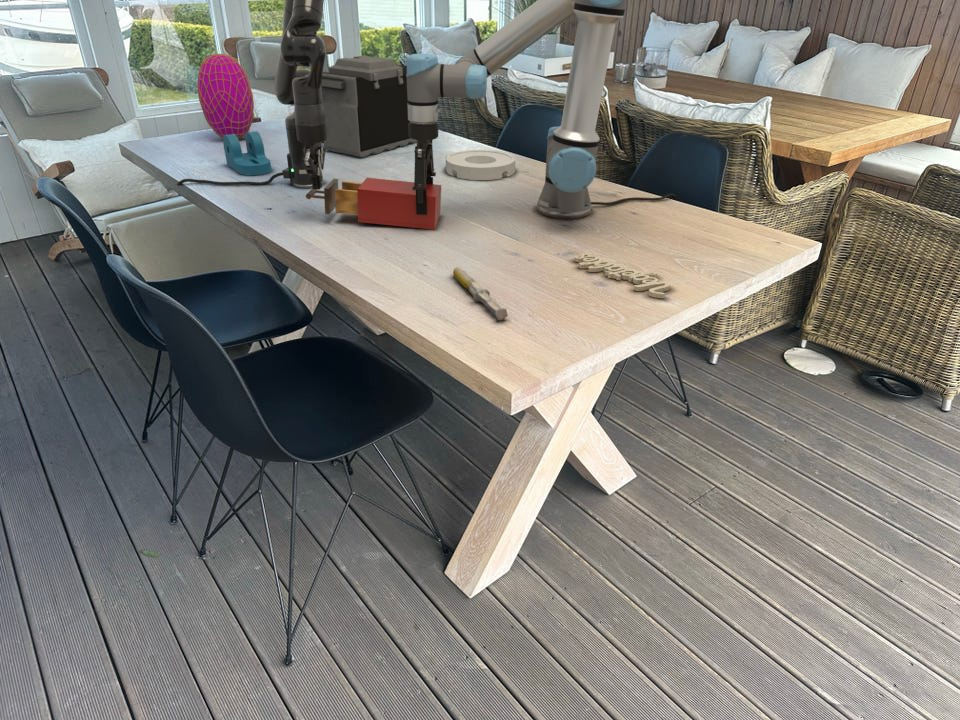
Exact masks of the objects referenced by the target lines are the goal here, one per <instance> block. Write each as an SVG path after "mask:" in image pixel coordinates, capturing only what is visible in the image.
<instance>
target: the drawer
mask: <svg viewBox="0 0 960 720" xmlns="http://www.w3.org/2000/svg"><path fill="white" fill-rule="evenodd" d="M362 183H363V182H353V181H344V180H343V181H341V188H339V178H333V179H332V180H331V181H330V182H328V184H327V185H326V186H324V188H323V190H321V189H319V190H318V189H313V188H312V187H311V189H310V190H309V191H308V192H307V193H306V194H305V198H306V200H311V199H320V200H324V215H328V216H329V215H331V214H332V212H333V211H334V210H335V214H344V215H352V216H358V192H357V189H358V188H359V186H360V185H361V184H362ZM316 194H323V195H316Z"/></svg>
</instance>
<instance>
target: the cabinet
mask: <svg viewBox="0 0 960 720" xmlns="http://www.w3.org/2000/svg"><path fill="white" fill-rule="evenodd" d="M361 183H362V184H361V185H360V186H359V188H358V189H357V192H358V215H357V222H358V223H364V224H365V223H366V224H374V225H375V224H376V225H384V226H385V225H386V226H395V227H403V228H404V227H405V228H412V229H422V230H423V229H424V230H432V231H434V230H436V227H437V225H438V222H439V220H440V218H441V204H442V203H441V201H442V184H434V183H433V184H426V189H427V215H417V214H416V190H413V189H412V187H414V181H405V180H396V179H387V178H386V179H384V178H377V177H376V178H375V177H366V178H365V179H364V180H363V181H362V182H361ZM418 185H421V184H418Z"/></svg>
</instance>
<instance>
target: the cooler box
mask: <svg viewBox="0 0 960 720" xmlns="http://www.w3.org/2000/svg"><path fill="white" fill-rule="evenodd" d="M406 75H407V65H400V64H396V62H395V60H394V59H393V58H385V57H377V56H367V55H356V56H353V57H350V58H349V57H343V58H342V57H341V58H337V59H336V60H335V63H334V64H333V65H330V66H329V67H328V72H327V71H323V72H322V84H321V86H322V98H323V106H324V111H325V120H326V131H327V140H326V141H324V142H321V143H322V144H323V146H324V147H323V148H325V149H326V151H330V152H335V153H340V154H344V155H348V156H353V157H357V158H362V159H363V158H366V157H367V158H368V157H369V155H371V154H375V155H377V154H381V153H382V152H383V151H391V150H395V149H396V148H397V147H405V146H407V145H408V144H417V140H415V139H411V138H410V137H409V130H408V123H409V122H410V121H409V120H408V104H407V103H408V97H407V77H406Z"/></svg>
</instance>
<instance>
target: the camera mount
mask: <svg viewBox="0 0 960 720" xmlns="http://www.w3.org/2000/svg"><path fill="white" fill-rule="evenodd" d="M244 137H245V146H246V152H243V151H242V150H243V149H242V146H241V142H240V140H239V139H238V138H237V136H236V135H235V134H230V135H224V137H223V138H222V140H223V141H222V143H223V149H224V150H223V151H224V156H225V161H226V165H227V166H228V167H230V168H231V169H232V170H234V171H236V172H237V173H238V174H239V175H244V176H260V175H265V174H268V173H271V172H272V164H271V159H270V158H268V157H267V156H266V153H265V145H264V141H263V139H262V136H261V134H260V132H258V131H248V132H247V133H246V135H245V136H244Z"/></svg>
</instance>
